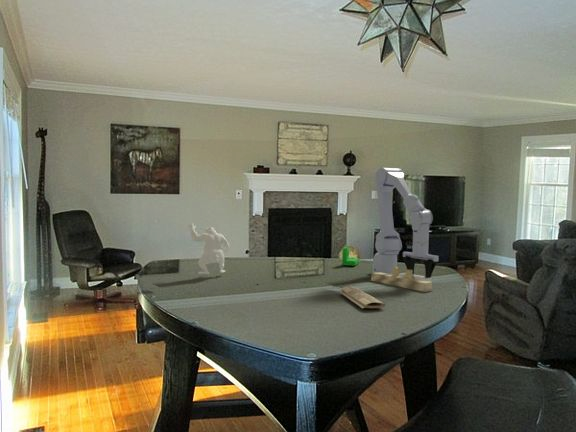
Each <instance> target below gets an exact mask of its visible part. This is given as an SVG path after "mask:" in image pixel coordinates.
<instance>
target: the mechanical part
mask: <svg viewBox="0 0 576 432" xmlns="http://www.w3.org/2000/svg"><path fill="white" fill-rule="evenodd" d="M341 258H342V260H341V265H342V266H353V267H354V266H356V265H358V264H360V263H359V261H360V260H359V257H351V256H350V247H349V246H343V247H342V257H341Z"/></svg>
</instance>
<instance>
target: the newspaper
mask: <svg viewBox="0 0 576 432" xmlns="http://www.w3.org/2000/svg"><path fill="white" fill-rule="evenodd" d="M337 292H338V293H340V294H341V295H343V297H346V298H347V299H349V300H350V301H351V302H352V303H354V304H356V305H357V306H359V307H360V308H361V309H365V308H366V309H382V308H384V307H385V306H386V303H384V302H382V301H381V300H379V299H377V298H376V297H374V296H372V295H371V294H368V293H367V292H366V291H364V290H362V289H360V288H358V287H356V286H352V285H350V286H347V285H346V286H343V287H341V288H340V290H338V291H337Z"/></svg>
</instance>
